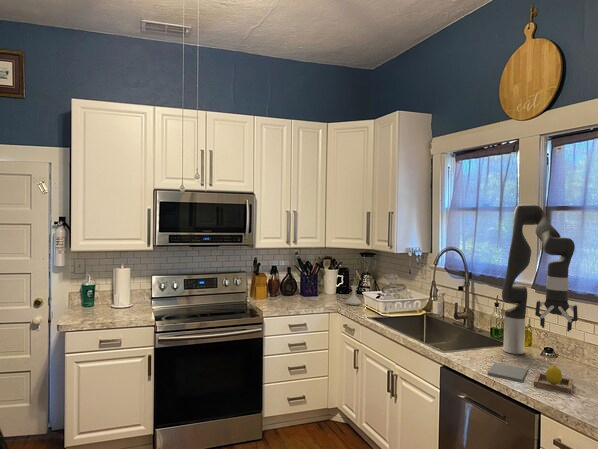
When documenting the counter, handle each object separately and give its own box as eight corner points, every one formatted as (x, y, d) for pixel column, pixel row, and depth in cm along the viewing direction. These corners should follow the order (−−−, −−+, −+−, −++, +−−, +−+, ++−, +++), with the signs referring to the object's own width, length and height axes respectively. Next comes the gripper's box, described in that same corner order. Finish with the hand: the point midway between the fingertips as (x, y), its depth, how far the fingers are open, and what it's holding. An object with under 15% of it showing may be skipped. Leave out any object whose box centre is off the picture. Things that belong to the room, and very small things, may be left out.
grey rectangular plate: (494, 364, 195) (495, 362, 195) (527, 371, 188) (527, 368, 188) (487, 374, 182) (487, 372, 182) (522, 382, 175) (522, 379, 175)
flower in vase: (357, 306, 316) (358, 272, 315) (343, 304, 322) (344, 270, 321) (364, 304, 327) (365, 270, 326) (350, 302, 333) (352, 269, 332)
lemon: (555, 389, 168) (556, 368, 168) (542, 384, 173) (543, 364, 173) (564, 387, 170) (565, 367, 170) (551, 382, 175) (552, 362, 175)
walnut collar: (537, 377, 181) (537, 372, 181) (572, 384, 174) (572, 379, 174) (533, 386, 170) (533, 381, 170) (571, 394, 163) (571, 389, 163)
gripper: (579, 289, 171) (577, 330, 171) (537, 285, 179) (536, 324, 179) (578, 291, 164) (576, 334, 165) (535, 287, 172) (533, 328, 173)
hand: (555, 329), depth 172 cm, fingers open, 8 cm apart
